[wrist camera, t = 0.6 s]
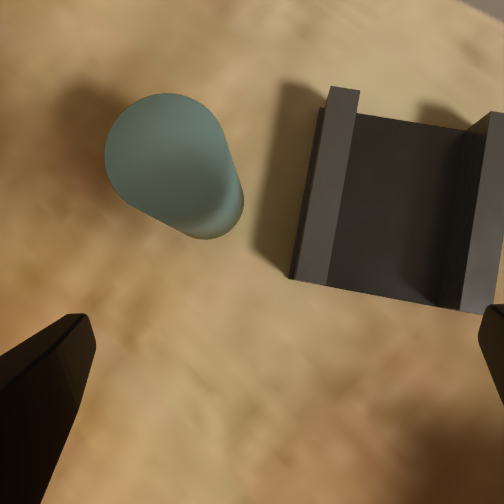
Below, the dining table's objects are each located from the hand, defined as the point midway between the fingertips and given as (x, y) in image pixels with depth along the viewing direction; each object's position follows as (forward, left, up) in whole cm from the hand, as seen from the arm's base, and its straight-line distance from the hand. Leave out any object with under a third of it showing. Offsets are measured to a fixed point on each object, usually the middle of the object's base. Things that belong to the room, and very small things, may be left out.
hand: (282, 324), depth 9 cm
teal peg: (0, +7, -14) cm, 16 cm away
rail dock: (+8, 0, -14) cm, 16 cm away
